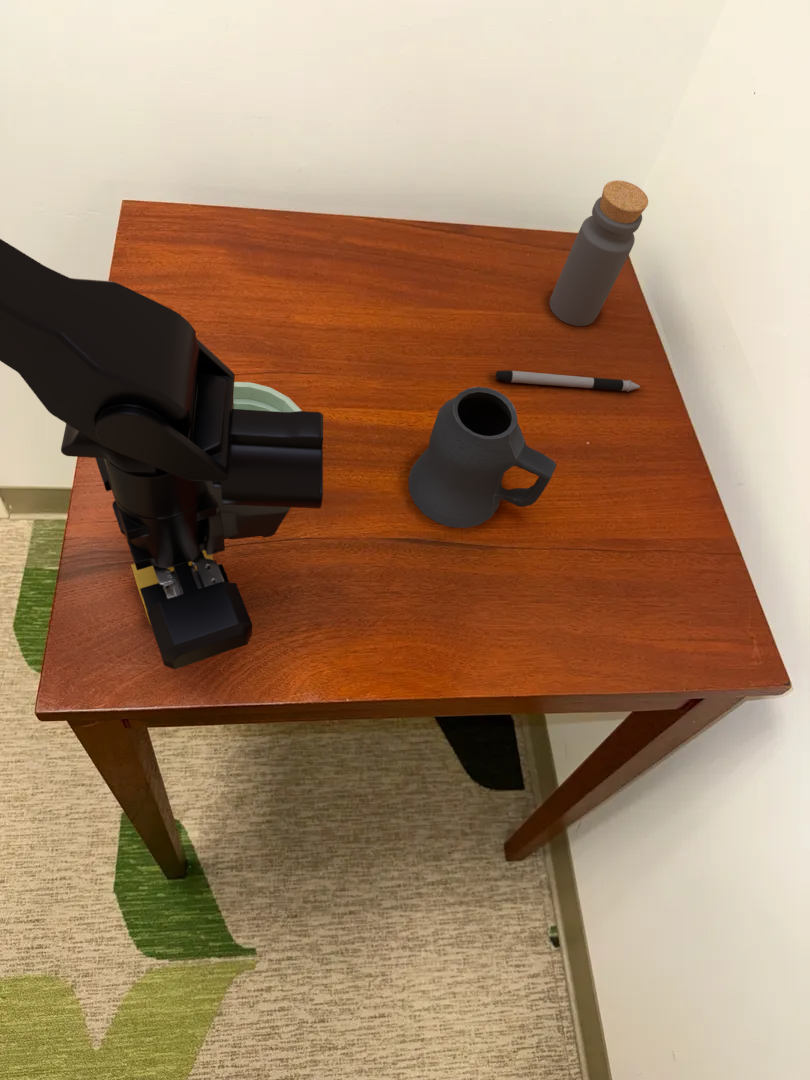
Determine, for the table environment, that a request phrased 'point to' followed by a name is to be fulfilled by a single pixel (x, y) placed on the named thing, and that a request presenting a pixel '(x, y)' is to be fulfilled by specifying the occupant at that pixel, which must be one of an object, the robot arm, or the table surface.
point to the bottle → (598, 254)
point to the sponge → (152, 577)
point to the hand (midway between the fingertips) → (179, 589)
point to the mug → (475, 461)
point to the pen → (565, 380)
